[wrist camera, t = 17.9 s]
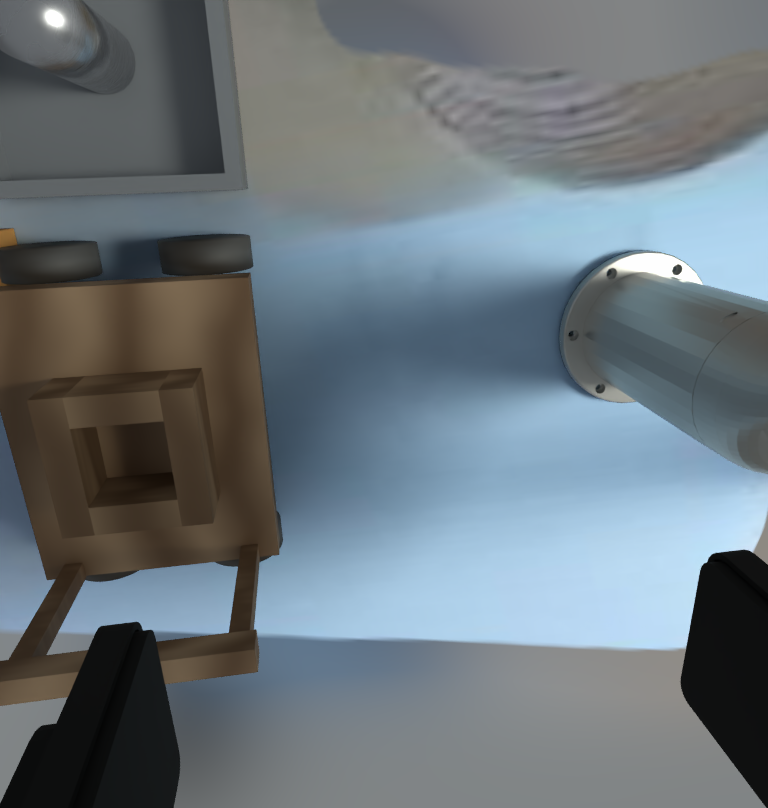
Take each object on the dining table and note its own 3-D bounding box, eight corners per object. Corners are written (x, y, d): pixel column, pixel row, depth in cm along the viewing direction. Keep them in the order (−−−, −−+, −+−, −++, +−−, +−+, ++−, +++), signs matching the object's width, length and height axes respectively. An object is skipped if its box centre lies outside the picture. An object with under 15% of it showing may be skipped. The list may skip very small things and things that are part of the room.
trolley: (252, 232, 44) (226, 268, 26) (283, 520, 52) (278, 692, 35) (17, 243, 42) (-180, 290, 24) (88, 540, 50) (-20, 733, 33)
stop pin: (129, 21, 37) (60, -44, 26) (140, 94, 39) (79, 61, 28) (61, 22, 37) (-39, -45, 26) (75, 95, 38) (-14, 62, 27)
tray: (218, -90, 37) (208, -124, 33) (247, 188, 43) (243, 189, 38) (-65, -95, 35) (-113, -131, 31) (6, 197, 41) (-27, 199, 37)
